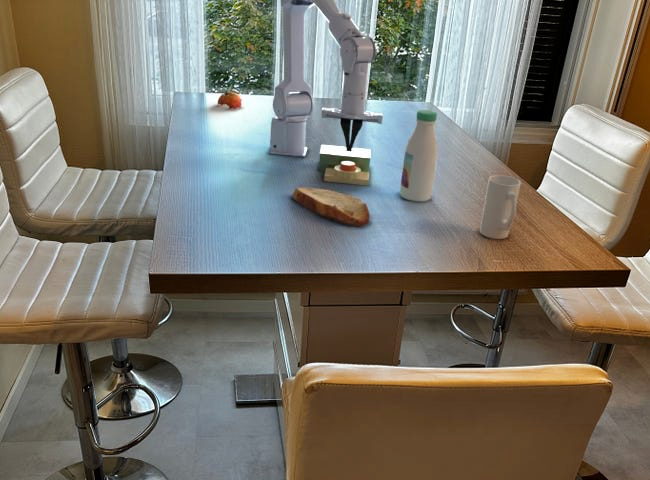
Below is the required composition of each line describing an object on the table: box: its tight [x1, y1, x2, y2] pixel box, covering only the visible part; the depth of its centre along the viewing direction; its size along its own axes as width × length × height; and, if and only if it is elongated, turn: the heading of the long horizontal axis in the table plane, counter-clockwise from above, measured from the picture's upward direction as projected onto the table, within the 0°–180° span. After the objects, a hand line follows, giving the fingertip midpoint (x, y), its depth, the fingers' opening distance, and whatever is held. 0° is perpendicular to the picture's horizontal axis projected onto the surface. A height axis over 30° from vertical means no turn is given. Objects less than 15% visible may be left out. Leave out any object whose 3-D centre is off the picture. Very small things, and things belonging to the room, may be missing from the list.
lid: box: [319, 144, 372, 161], centre depth 181 cm, size 8×13×1 cm, turn 88°
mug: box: [479, 174, 522, 240], centre depth 149 cm, size 10×7×12 cm, turn 15°
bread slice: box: [291, 187, 370, 227], centre depth 156 cm, size 18×18×4 cm
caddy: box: [318, 154, 371, 173], centre depth 183 cm, size 7×13×4 cm, turn 88°
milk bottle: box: [399, 109, 439, 202], centre depth 165 cm, size 8×8×20 cm
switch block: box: [323, 165, 370, 186], centre depth 176 cm, size 11×7×3 cm, turn 88°
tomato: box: [217, 90, 243, 110], centre depth 228 cm, size 8×7×7 cm
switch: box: [340, 161, 355, 171], centre depth 174 cm, size 4×4×2 cm
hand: (349, 150), depth 172 cm, fingers closed
